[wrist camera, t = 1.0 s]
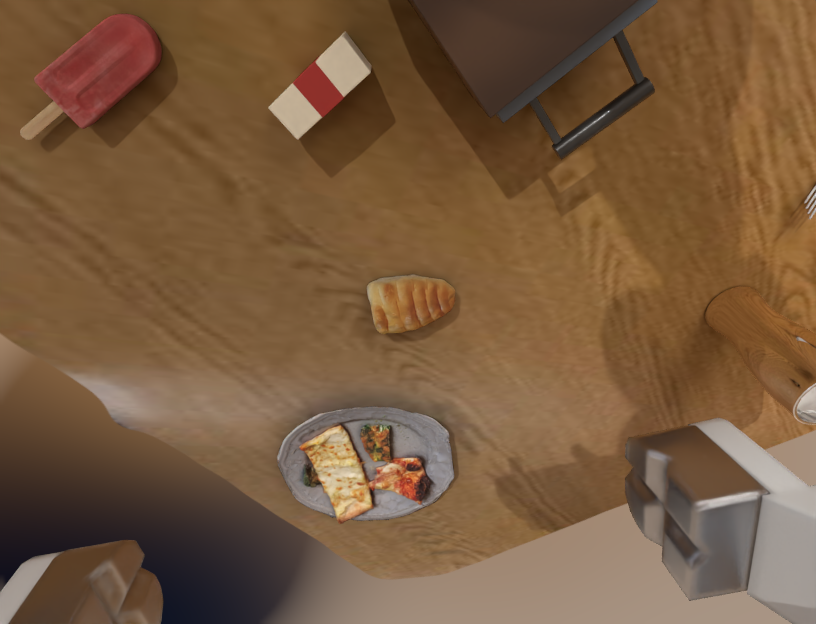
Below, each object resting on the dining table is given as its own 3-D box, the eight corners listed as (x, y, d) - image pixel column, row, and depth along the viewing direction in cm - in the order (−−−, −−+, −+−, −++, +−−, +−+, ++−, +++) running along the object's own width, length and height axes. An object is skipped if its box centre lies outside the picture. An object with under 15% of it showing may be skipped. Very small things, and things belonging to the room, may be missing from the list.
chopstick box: (345, 30, 38) (342, 34, 35) (372, 66, 39) (371, 73, 36) (275, 98, 41) (267, 107, 37) (303, 129, 42) (297, 141, 39)
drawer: (650, 63, 40) (687, 74, 35) (522, 159, 44) (540, 180, 39) (532, -206, 30) (560, -241, 26) (383, -54, 34) (384, -60, 30)
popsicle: (-9, 115, 39) (120, -1, 35) (4, 111, 40) (130, -2, 36) (41, 163, 41) (168, 58, 37) (53, 157, 42) (176, 55, 39)
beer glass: (688, 325, 57) (774, 420, 44) (724, 276, 53) (829, 365, 41) (737, 336, 58) (834, 431, 46) (776, 289, 54) (892, 378, 42)
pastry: (449, 261, 50) (453, 279, 47) (458, 312, 54) (462, 332, 51) (362, 278, 51) (361, 298, 48) (377, 327, 55) (377, 348, 52)
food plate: (457, 499, 74) (460, 520, 71) (310, 517, 75) (307, 539, 72) (442, 382, 60) (445, 403, 57) (261, 407, 61) (256, 428, 58)
